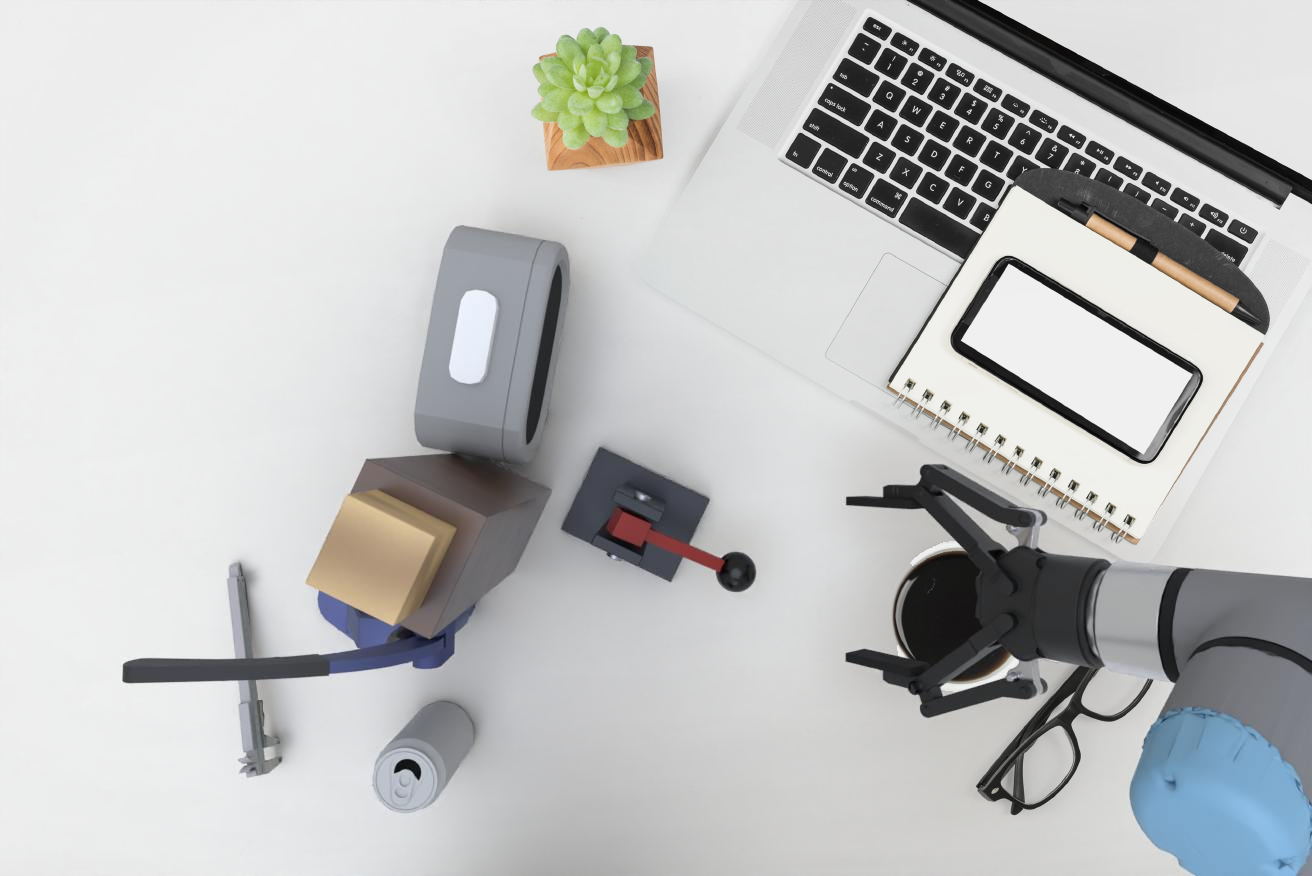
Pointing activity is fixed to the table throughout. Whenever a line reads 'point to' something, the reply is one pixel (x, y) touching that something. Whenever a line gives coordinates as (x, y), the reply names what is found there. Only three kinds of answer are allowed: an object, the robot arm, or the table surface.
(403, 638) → the clamp
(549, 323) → the alarm clock
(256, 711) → the caliper
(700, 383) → the table surface
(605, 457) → the toggle clamp
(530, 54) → the table surface
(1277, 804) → the robot arm
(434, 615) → the dark brown block
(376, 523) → the jaw block
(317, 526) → the table surface
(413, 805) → the beverage can
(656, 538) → the clamp lever
